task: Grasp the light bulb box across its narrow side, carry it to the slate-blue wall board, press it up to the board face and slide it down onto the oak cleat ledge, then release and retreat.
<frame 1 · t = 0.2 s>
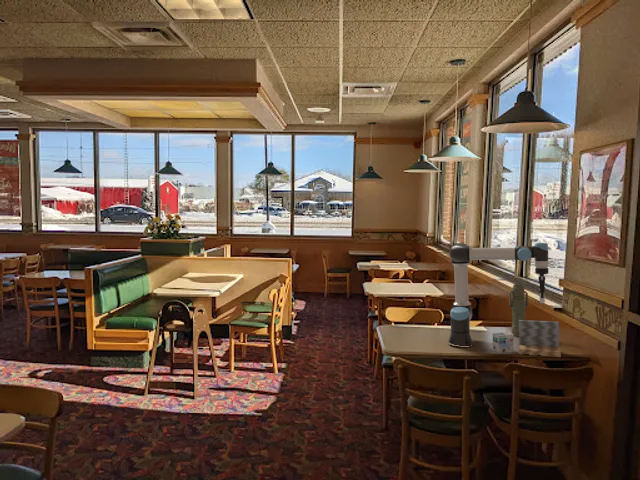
hand: (542, 301, 300), 28 cm above the table, fingers open, 13 cm apart
wall board: (538, 350, 290), on the table
light bulb box: (503, 351, 292), on the table
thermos: (519, 335, 325), on the table
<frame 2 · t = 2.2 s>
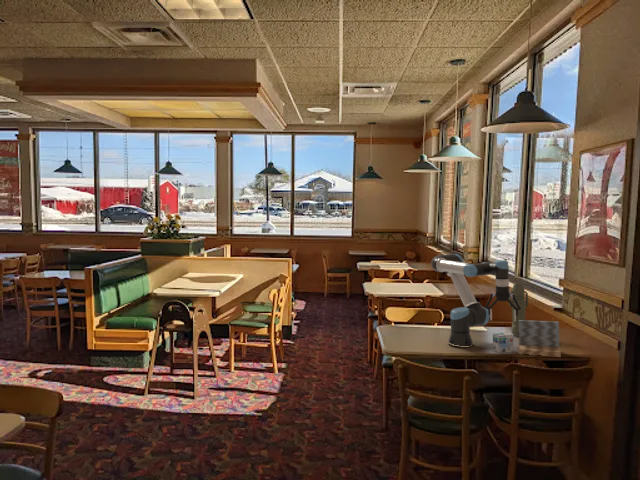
hand: (503, 320, 291), 19 cm above the table, fingers open, 13 cm apart
nothing on the table moved.
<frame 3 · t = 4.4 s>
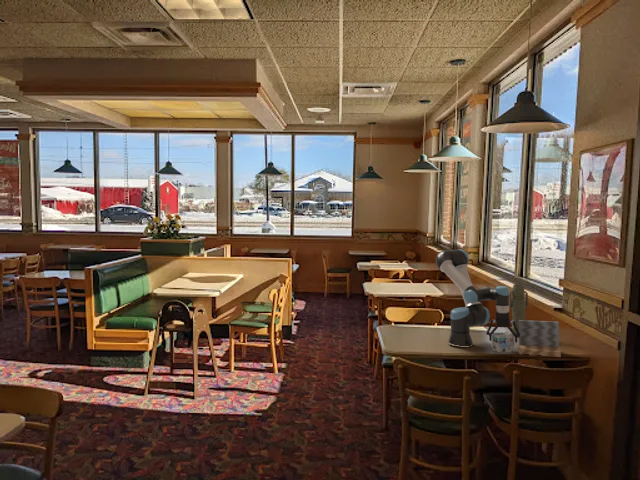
hand: (503, 346, 292), 2 cm above the table, fingers closed on light bulb box, 12 cm apart
light bulb box: (503, 351, 292), on the table, touching gripper
everything else where it was.
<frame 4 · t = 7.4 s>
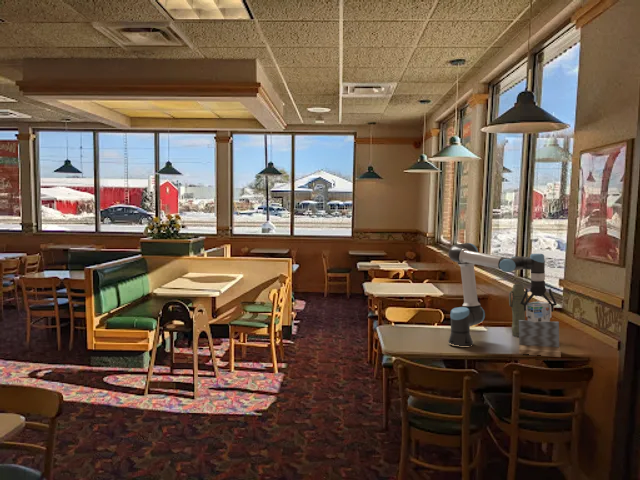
hand: (538, 316, 280), 23 cm above the table, fingers closed on light bulb box, 12 cm apart
light bulb box: (538, 321, 280), point 20 cm above the table, touching gripper
everything else where it was.
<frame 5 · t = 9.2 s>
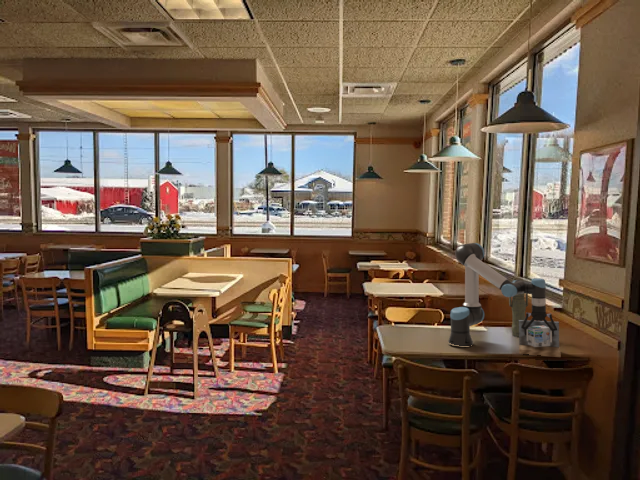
hand: (539, 341, 283), 8 cm above the table, fingers closed on light bulb box, 12 cm apart
light bulb box: (539, 345, 283), point 5 cm above the table, touching gripper
everything else where it was.
when the fingers open (6 cm above the table, at t = 10.7 s): light bulb box stays where it is, resting on wall board.
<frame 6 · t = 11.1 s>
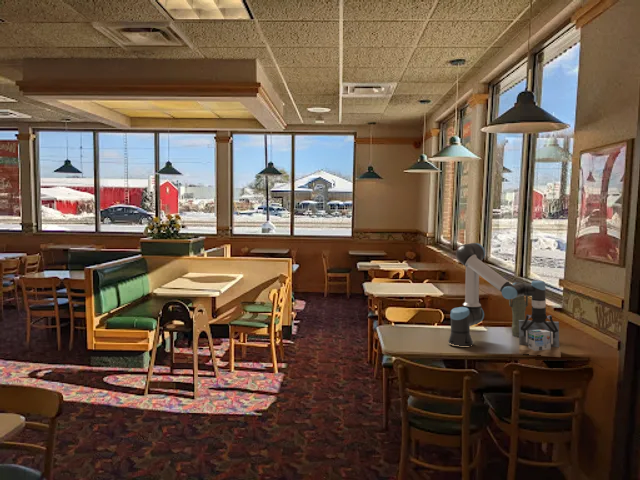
hand: (539, 342, 283), 7 cm above the table, fingers open, 13 cm apart
light bulb box: (539, 349, 283), point 3 cm above the table, touching wall board
everything else where it was.
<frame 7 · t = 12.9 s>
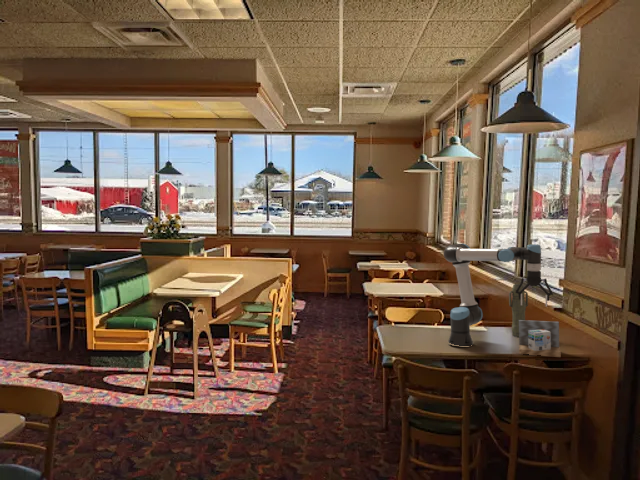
hand: (533, 305, 286), 28 cm above the table, fingers open, 13 cm apart
nothing on the table moved.
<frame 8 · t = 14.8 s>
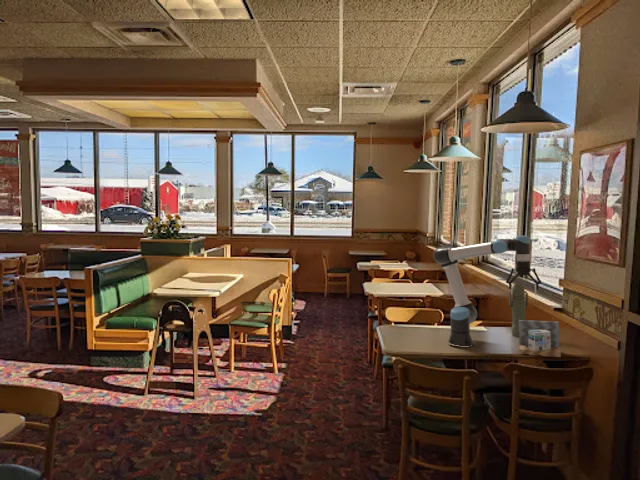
hand: (523, 294, 298), 33 cm above the table, fingers open, 13 cm apart
nothing on the table moved.
at the end: light bulb box inside the target area (0.2 cm from its centre), point 2.8 cm above the table; light bulb box tilted 0°; the gripper is holding nothing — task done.
